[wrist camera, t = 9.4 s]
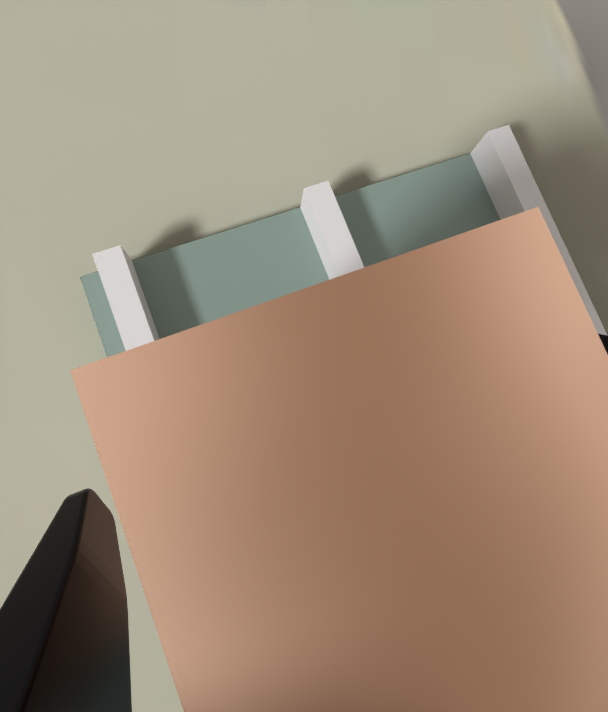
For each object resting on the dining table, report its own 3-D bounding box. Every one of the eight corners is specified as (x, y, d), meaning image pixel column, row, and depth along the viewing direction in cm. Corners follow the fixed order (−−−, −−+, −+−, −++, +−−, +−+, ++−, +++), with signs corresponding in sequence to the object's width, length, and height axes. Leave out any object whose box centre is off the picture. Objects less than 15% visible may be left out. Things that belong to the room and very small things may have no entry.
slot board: (670, 528, 19) (731, 543, 17) (245, 741, 16) (243, 797, 14) (497, 154, 21) (529, 118, 19) (89, 284, 18) (63, 263, 16)
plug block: (333, 365, 18) (538, 206, 5) (382, 487, 17) (756, 671, 4) (210, 412, 17) (70, 369, 4) (258, 542, 16) (265, 959, 4)
